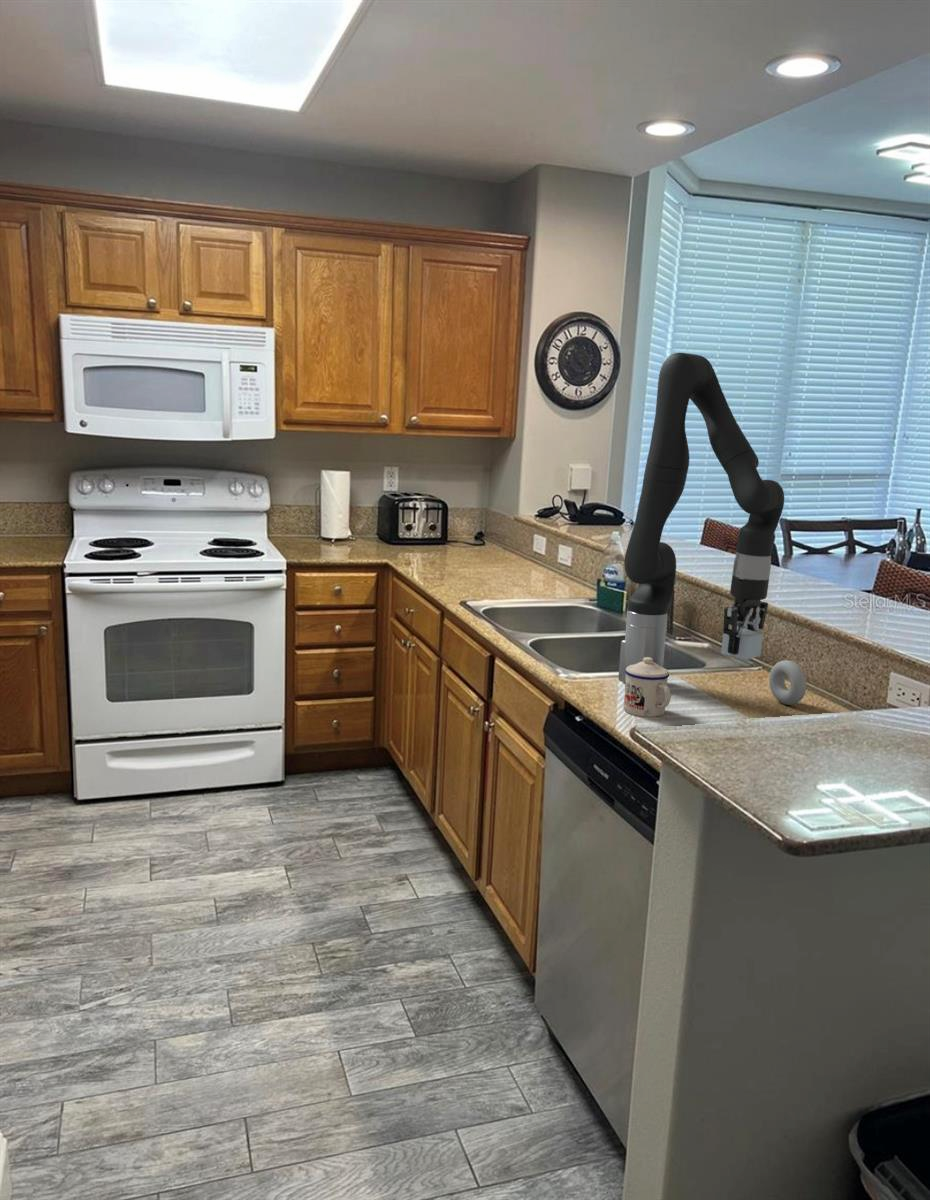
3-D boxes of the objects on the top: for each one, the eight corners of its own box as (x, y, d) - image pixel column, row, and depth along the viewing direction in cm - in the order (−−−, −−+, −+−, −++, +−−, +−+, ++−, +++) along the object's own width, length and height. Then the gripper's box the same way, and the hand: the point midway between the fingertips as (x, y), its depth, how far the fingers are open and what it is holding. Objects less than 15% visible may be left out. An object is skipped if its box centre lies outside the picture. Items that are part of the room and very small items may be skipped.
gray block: (720, 653, 198) (723, 630, 197) (735, 649, 202) (738, 627, 201) (745, 660, 194) (748, 637, 192) (760, 655, 198) (763, 633, 197)
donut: (763, 698, 208) (768, 655, 206) (775, 697, 209) (780, 654, 207) (795, 711, 199) (800, 667, 197) (807, 710, 200) (812, 666, 199)
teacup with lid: (613, 707, 197) (617, 654, 194) (646, 702, 201) (651, 651, 199) (649, 724, 186) (654, 669, 184) (684, 719, 191) (689, 665, 188)
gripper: (752, 569, 201) (742, 642, 205) (716, 574, 192) (707, 652, 195) (784, 575, 196) (773, 650, 200) (749, 581, 186) (738, 660, 190)
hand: (740, 651), depth 198 cm, fingers closed on gray block, 6 cm apart
